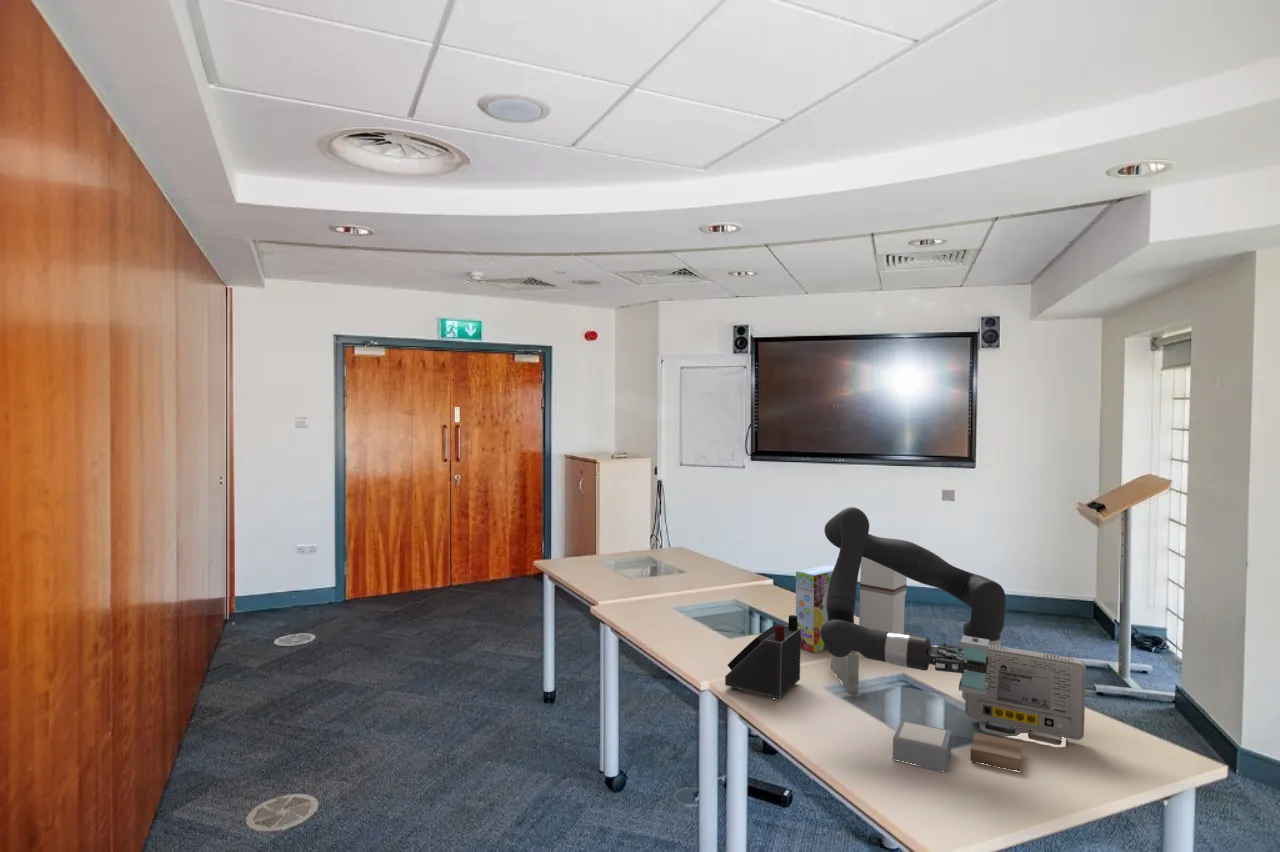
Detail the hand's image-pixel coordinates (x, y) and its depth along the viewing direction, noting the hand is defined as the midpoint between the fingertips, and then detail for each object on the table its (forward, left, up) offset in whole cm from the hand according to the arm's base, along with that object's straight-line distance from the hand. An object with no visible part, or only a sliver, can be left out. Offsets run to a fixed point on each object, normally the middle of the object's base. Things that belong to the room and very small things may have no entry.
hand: (987, 664), depth 163 cm
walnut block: (-4, 0, -22) cm, 22 cm away
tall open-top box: (-26, -75, -22) cm, 83 cm away
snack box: (-8, -82, -22) cm, 86 cm away
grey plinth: (+12, -5, -22) cm, 26 cm away
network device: (-20, -9, -22) cm, 31 cm away
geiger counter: (+3, -54, -22) cm, 59 cm away
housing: (+2, -2, -6) cm, 7 cm away
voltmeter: (+29, -52, -22) cm, 64 cm away
